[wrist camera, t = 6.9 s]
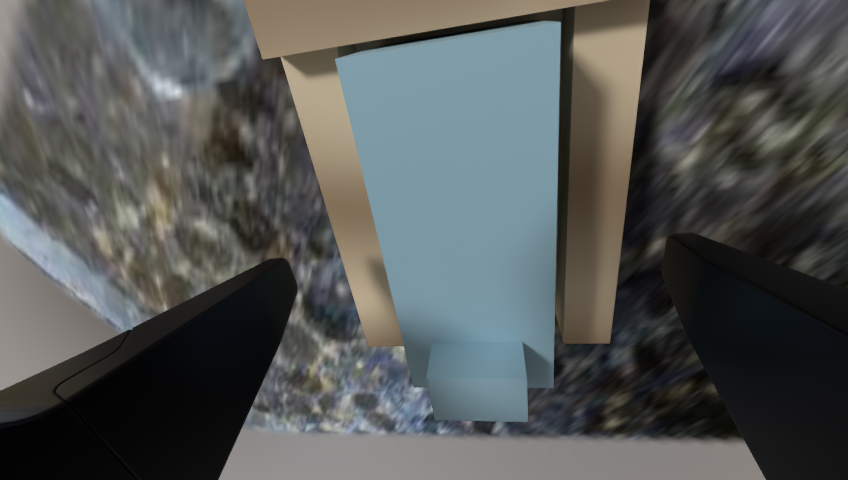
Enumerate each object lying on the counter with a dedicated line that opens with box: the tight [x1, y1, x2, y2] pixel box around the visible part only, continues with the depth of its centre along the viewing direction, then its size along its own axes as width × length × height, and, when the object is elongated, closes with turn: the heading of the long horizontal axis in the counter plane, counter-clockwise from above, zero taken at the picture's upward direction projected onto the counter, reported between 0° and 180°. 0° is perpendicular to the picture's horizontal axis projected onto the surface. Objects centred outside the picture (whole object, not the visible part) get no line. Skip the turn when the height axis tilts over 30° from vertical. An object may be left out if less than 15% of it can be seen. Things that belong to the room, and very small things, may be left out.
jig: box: [244, 0, 650, 346], centre depth 11 cm, size 13×9×4 cm
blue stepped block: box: [335, 20, 561, 422], centre depth 10 cm, size 9×4×5 cm, turn 9°
